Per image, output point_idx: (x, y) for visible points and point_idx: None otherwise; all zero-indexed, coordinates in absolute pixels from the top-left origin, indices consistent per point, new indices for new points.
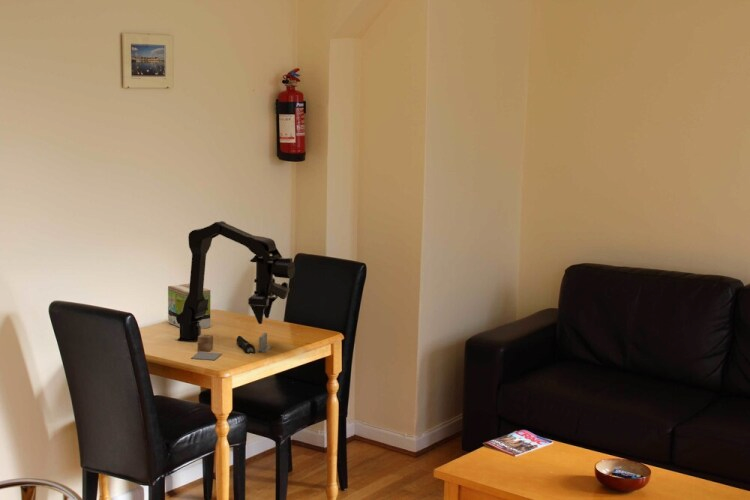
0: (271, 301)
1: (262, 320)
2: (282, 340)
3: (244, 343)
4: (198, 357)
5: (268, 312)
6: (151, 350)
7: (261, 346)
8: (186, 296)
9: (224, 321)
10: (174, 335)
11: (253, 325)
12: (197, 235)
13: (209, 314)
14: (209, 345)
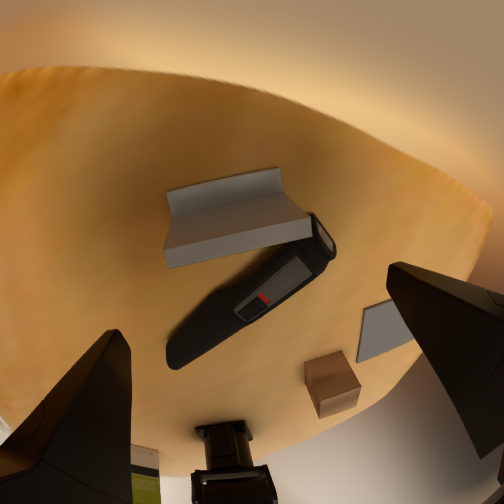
0: (33, 490)
1: (411, 273)
2: (29, 217)
3: (274, 300)
4: (409, 330)
5: (102, 376)
6: (349, 417)
7: (291, 202)
8: None
9: None
10: None
11: (2, 373)
12: None
13: None
14: (347, 366)
